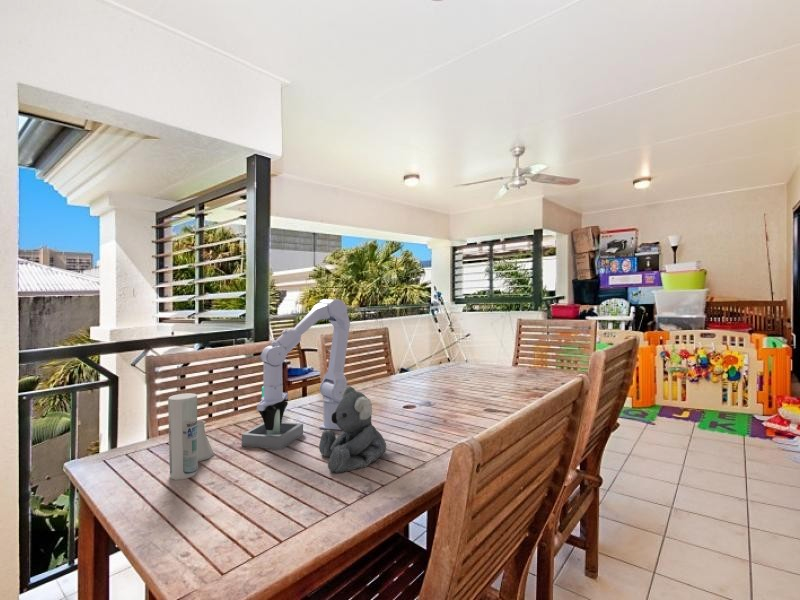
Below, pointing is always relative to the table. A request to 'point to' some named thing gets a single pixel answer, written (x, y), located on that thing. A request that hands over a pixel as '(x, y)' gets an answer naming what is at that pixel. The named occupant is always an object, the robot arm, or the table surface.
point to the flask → (203, 443)
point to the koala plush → (352, 434)
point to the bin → (272, 436)
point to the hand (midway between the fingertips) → (273, 427)
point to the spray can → (183, 435)
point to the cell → (275, 424)
